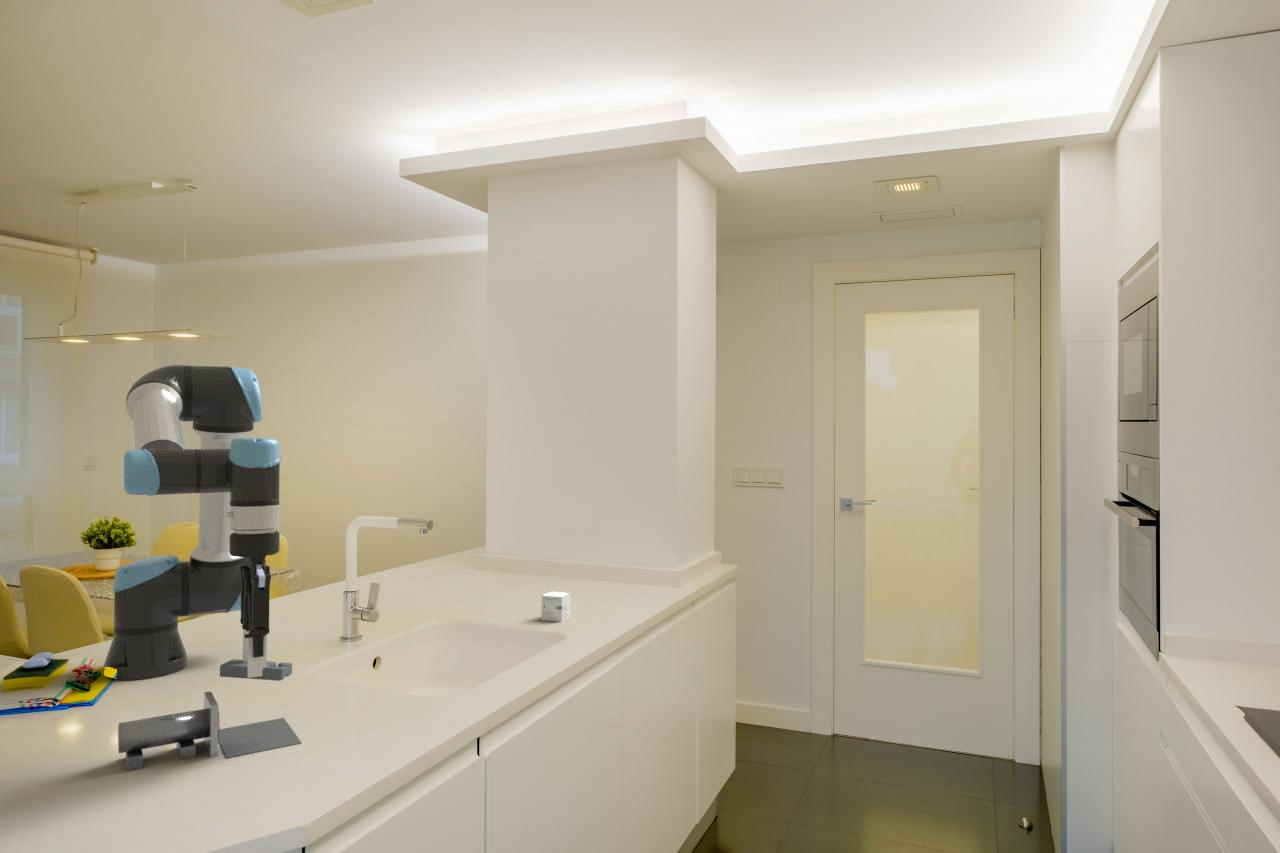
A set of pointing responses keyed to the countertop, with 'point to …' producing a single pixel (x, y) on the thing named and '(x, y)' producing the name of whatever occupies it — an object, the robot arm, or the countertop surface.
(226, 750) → the mount pad
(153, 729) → the pipe fixture
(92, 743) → the countertop surface
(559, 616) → the skincare box
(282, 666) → the bracket
